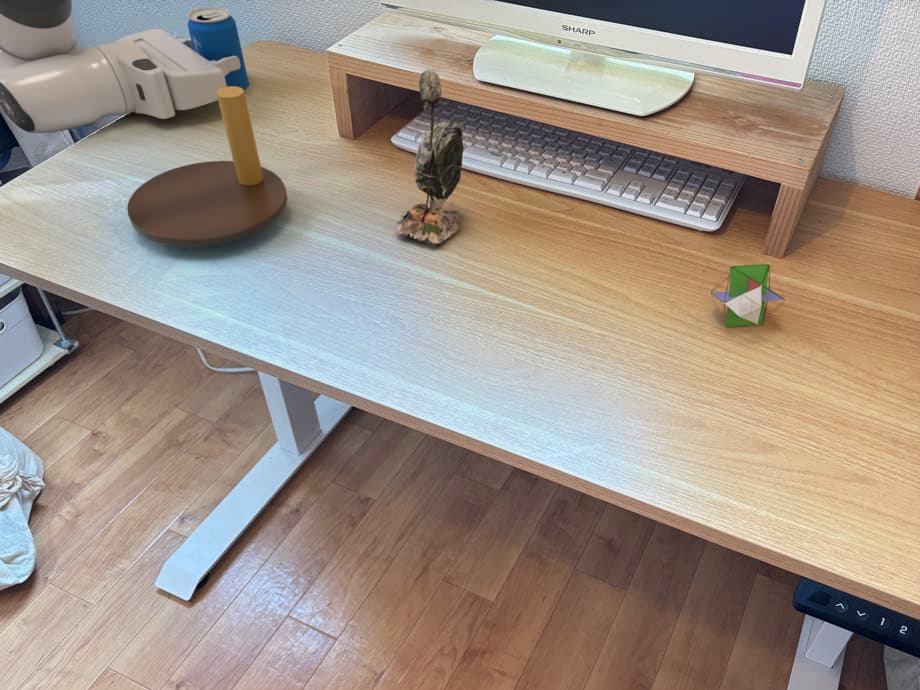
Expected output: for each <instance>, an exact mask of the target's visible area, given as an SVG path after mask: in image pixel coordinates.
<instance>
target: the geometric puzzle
mask: <svg viewBox="0 0 920 690" xmlns="http://www.w3.org/2000/svg"><path fill="white" fill-rule="evenodd" d="M728 270H729V275H728V276H727V277H726V279H724V280H723V281H722V282H721V283H720V284H719V282H720V281H718V282H717V284H719V285H716V286H714V287H713V289H712V290H711V291H709V294H710V295H711V296H712V298H713V299H712V300H715V298H716V299H717V300H719V302H721V303H722V304H723V310H724V311H723V312H724V313H726V316H724V320H722V321H723V324H724V326H725V328H726V329H727V328H738V327H753V326H756V327H757V326H762V327H763V326H764V323H765V318H767V317H768V319H767V320H766V321H768V320H769V318H771V317H772V315H770V316H769V314H768V315H766V312H767V306H768V302H774V301H782V302H781V303H780V305H778V306H777V307H776V308H774V309H773V310H772V312H775V311H777V310H778V309H779V308H780V307H781V305H783V304H784V302H786V301H787V299H786V298H785V297H782V296H781V295H779V294H778V293H776V292H775V291H774V290H772V289H771V284H770V283H771V281H770V279H771V278H770V277H771V276H770V275H771V274H770V270H771V271H773V269H772V267H771V263H766V264H765V263H764V264H749V265H748V264H745V265H733V264H731V265H730V267H729V268H728ZM726 274H727V272H726V273H724V275H726ZM723 277H724V276H722V277H721V279H723ZM774 279H775V281H776V282H778V280H777V279H776V277H774ZM726 280H727V285H726V289H725V291H715V290H716V289H718V288H719V286H721V284H723V283H724V282H725V281H726ZM728 287H729V288H728ZM779 290H780V292H781V293H783V292H782V291H783V290H782V289H781V288H779ZM714 291H715V292H714ZM714 297H715V298H714ZM714 303H715V306H716V308H717V309H719V308H718V305H717V303H716V302H714ZM725 306H726V307H727V311H726V307H725ZM718 313H719V314H720V317H721V318H723V317H722V314H721V312H720V311H718ZM724 321H725V322H724Z"/></svg>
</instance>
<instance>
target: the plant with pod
mask: <svg viewBox="0 0 920 690" xmlns="http://www.w3.org/2000/svg"><path fill="white" fill-rule="evenodd" d="M418 86H419V87H418V88H419V99H420V100H421V101H422V102H423V103H424V104H423V105H424V106H423V107H422V108H423V114H424V115H426V113H427V108H428V107H429V106H430V129H429V130H428V132H427V133H426V134H425V136H424V137H423V138H422V139H421V141H420V143H419V145H418V148H417V153H416V154H415V157H414V176H415V178H414V181H415V184H416V186H417V188H418V189H419V190H420V191H421V192H423V193H425V194H426V201H425V202H426V203H418V204H414V205H413V206H412V207H410V208H409V210H407V211H404V212H403V213H402V214H400V219H399V221H397V222H396V224H397V225H398V226H396V229H395V232H394V234H395V235H396V236H397V237H403V236H404V237H406V236H407V235H409V238H410V239H411V238H412V237H413V240H417V242H422V243H425V244H426V246H427V245H428V246H429V247H434V246H439V245H440V244H442V243H443V242H446V240H448V239H449V238H450V237H451V236H452V235H454V234H455V233H457V232H458V231H459V230H460V229H461V227H460V225H461V223H460V218H461V216H460V213H459V210H456V211H455V209H454V210H451V211H449V210H448V211H447V210H444V209H443V206H444V205H445V203H446V202H447V200H448V199H449V197H450V196H451V195H452V194H453V192H454V191H455V190H456V188H457V186H458V184H459V183H460V181H461V177H462V175H461V174H462V168H463V154H464V149H465V148H464V144H463V143H464V140H463V130H462V127H461V126H460V125H458V124H456V123H455V122H447V121H440V122H438V123H436V125H434V123H435V104H439V103H440V101H441V99H442V92H443V91H442V85H441V80H440V75H439V74H438V73H437V72H435V71H433V70H430V69H426V70H425V71H422V73H421V74H420V79H419V81H418ZM461 124H465V121H463V120H461ZM429 198H430V199H429Z"/></svg>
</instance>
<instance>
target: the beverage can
mask: <svg viewBox="0 0 920 690" xmlns="http://www.w3.org/2000/svg"><path fill="white" fill-rule="evenodd" d="M187 28H188V29H187V30H188V33H189V36H190V39H191V41H192V45H193V48H194V51H195V52H196V53H198V54H199V55H201V56H202V57H204V58H205V59H207V60H208V61H213V60H215V61H218V60H220V59H222V56H224V55H229V54H233V55H235V56H237V57H238V58H239V61H240V65H241V67H240V69H238V70H234V71H230V72H229V73H228V74H227V75H226V76H225V81H226V85H227V87H229V86H235V87H240V88H242V89H243V90H244V91H245V90H247V88H248V87H250V82H249V77H248V72H247V68H246V63H245V59H244V55H243V50H242V46H241V41H240V37H239V32H238V27H237V22H236V20H235V18H233V16H232V15H231V11H230V10H229V9H227V8H224V7H220V6H219V7H218V6H208V7H200V8H197V9H194V10H192V11H189V13H188V21H187Z"/></svg>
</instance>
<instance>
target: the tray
mask: <svg viewBox="0 0 920 690" xmlns="http://www.w3.org/2000/svg"><path fill="white" fill-rule="evenodd" d="M216 94H217V98H218V100H217V102H218V107H219V110H220V114H221V117H222V121H223V125H224V130H225V134H226V138H227V141H228V146H229V150H230V154H231V157H232V160H213V161H202V162H197V163H196V162H195V163H191V164H185V165H182V166H178V167H175V168H172V169H169V170H166V171H164V172H162V173H159V174H157V175H155V176H153V177H152V178H150V179H148V180H146V181H145V182H143V184H141V185H140V186H139V187H138V188H137V189H136V190H135V191H134V192H133V193H132V195H131V196H130V197H129V200H128V203H127V208H126V211H127V216H128V218H129V221H130V223H131V226H132V227H133V229H135V231H137V232H138V233H139V234H140V235H141V236H143V237H145V238H146V239H149V240H151V241H153V242H156V243H160V244H162V245H163V244H164V245H167V246H174V247H175V246H176V247H189V248H191V247H192V248H194V247H195V248H196V247H211V246H216V245H223V244H227V243H231V242H235V241H239V240H242V239H245V238H247V237H249V236H252V235H255V234H257V233H258V232H260V231H262V230H264V229H266V228H268V227H269V226H270V225H271V224H273V223H274V222H275V221H277V220H278V219H279V217H280V216H281V215H282V214H283V212H284V211H285V210H286V206H287V203H288V193H287V188H286V185H285V183H284V182H283V180H282V178H281V177H280V176H278V175H277V174H276V173H275V172H273V171H272V170H270V169H268V168H266V167H263V166H262V165H261V160H260V156H259V151H258V147H257V143H256V139H255V134H254V130H253V126H252V120H251V116H250V111H249V108H248V103H247V99H246V94H245V90H243V89H242V88H240V87H235V86H229V87H224V88H221V89H219V90H218V91H217V92H216Z"/></svg>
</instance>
